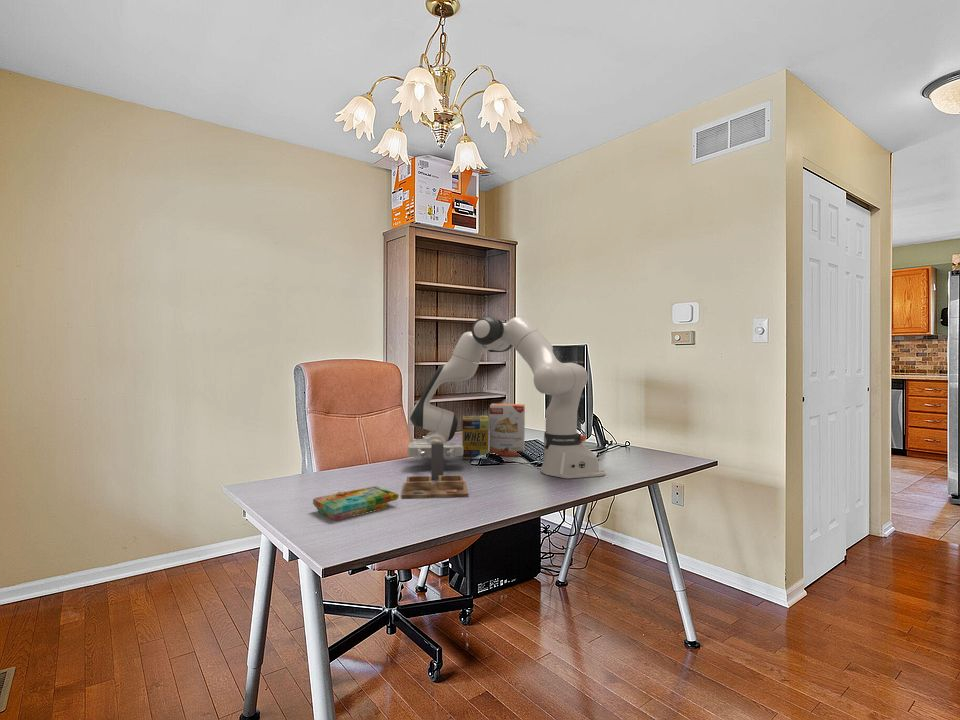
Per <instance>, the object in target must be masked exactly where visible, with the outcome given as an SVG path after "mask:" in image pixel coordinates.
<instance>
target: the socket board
mask: <svg viewBox="0 0 960 720" xmlns="http://www.w3.org/2000/svg"><path fill="white" fill-rule="evenodd" d="M469 493H470V492H469V490H468V487H467V483H466V481H465V480H464V478H463V475H462V474H454V475H453V474H452V475H447V474H446V475H444V474H443V475H442V476H439V479H438V481H432V477H431V475H409V476H408V475H407V476H406V481H405V482H403V485H402V490H401V496H400V497H401V498H402V499H430V498H429V497H442V498H468V497H469ZM401 498H400V499H401Z"/></svg>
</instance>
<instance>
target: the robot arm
mask: <svg viewBox="0 0 960 720" xmlns="http://www.w3.org/2000/svg"><path fill="white" fill-rule="evenodd" d="M512 348H514V350H515V351H516V352H517V354H519V355H520V356H521V358H522V359H523V360H524V361H525V362H526V364H527V365H528V366H529V367H530V370H531V372H532V374H533V385H534V387H535V390H537V391H538V392H539V393H541V394H544V395H548V396H551V397H552V398H551V400H550V403H549V405H548V406H547V408H546V409H545V410H546V411H545V431H544V433H543V434H544V436H543V446H544V447H543V448H544V451H543V452H544V453H543V460H542V461H543V462H542V465H541V468H540V472H541V474H545V475H547V476H552V477H558V478H562V479H579V478H591V477H593V478H594V477H603V476H606V470H605V469H604V468H602V467H601V466H599V460H598V457H597V454H595V453H594V452H593V451H592V450H591V449H590V448H588V447H587V446H586V445H584V444H583V442H586V441H587V437H586V436H585V435H583V434H580V433H579V432H578V430H577V429H578V410H579V404H580V402H581V397H582V393H583V390H584V388H585V386H587V383H588V380H589V379H588V378H589V375H588V372H587V370H586V368H585V367H584V366H582V365H580V364H578V363H574V362H561V361H560V360H558V358H556V355H555V354H554V347H553V344H551V342H550V341H549V340H548V339H547V338H546V337H545V336H544V335H543V334H542V333H541V331H539V329H538V328H536V327H535V326H534V325H533V324H532V323H531V322H530V321H529V320H527V319H526V318H524V317H522V316H515V317H512V318H510V319H509V320H508V321H507V322H503V321H502V320H501V319H499V318H498V319H497V318H494V317H491V316H490V317H489V316H483V317H479V318H477V319H476V320H475V321H474V322H473V324H472V326H471V331H466V332H463V334H462V335H461V336H460V338H459V339H458V342H457V343H456V345H455V348H454V349H453V352H452V354H451V357H450V359H449V360H448V361H447V362H446V363H445V364H442V365H439V366H438V367H437V369H436V371H435V372H434V374H433V375H432V377H431V379H430V380H429V383H428V384H427V385H426V387H425V389H424V391H423V393H422V394H421V396H420V398H419V399H418V401H417V403H415V405H414V406H413V408H412V410H411V412H410V415H409V420H410V422H411V423H412V425H413V426H414V427H415V428H419V429H424V430H427V431H428V433H427V434H426V435H425V437H418V438H417V437H416V438H413V439H412V441H410V442H409V444H408V446H407V457H409V458H412V457H413V458H415V457H416V458H417V457H418V458H419V457H421V458H425V459H426V458H427V459H431V442H434V441H435V440H440V442H443V457H462V455H463V452H464V448H463V445H462V443H458V442H453V443H452V442H449V441H451V440H452V439H453V438H454V436H455V434H456V432H457V428H458V418H457V415H456V413H455V412H454V411H450V410H448V409H445V408H441V407H438V406H436V405H433V404H432V403H431V400H432V399H433V398H434V397H433V396H434V395H435V393H436V392H437V390H438V388H439V386H440V385H441V384H444V383H447V382H463V381H464V382H465V381H468V380H471V378H473V377H474V376H475V374H476V372H477V370H478V368H479V364H480V362H481V359H482V356H483V355H484V353H485V352H487V351H488V353H504V352H508V351H509V350H511V349H512Z"/></svg>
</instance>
